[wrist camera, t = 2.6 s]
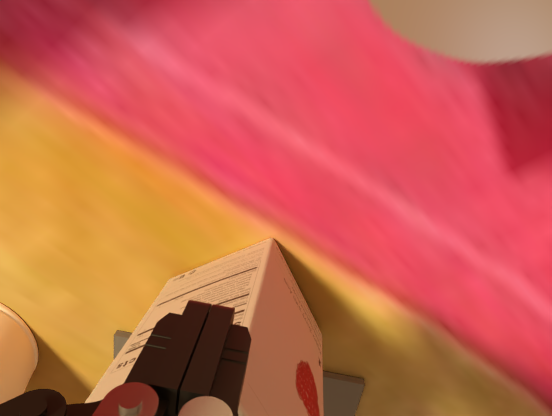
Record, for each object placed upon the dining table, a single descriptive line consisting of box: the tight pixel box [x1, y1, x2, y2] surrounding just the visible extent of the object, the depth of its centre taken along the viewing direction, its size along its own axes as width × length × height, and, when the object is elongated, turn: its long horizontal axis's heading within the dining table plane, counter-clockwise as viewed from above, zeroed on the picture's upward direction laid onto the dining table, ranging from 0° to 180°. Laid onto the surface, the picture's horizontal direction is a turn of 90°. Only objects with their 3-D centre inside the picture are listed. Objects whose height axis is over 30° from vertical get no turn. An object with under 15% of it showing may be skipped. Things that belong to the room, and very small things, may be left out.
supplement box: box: [85, 238, 324, 416], centre depth 24 cm, size 9×9×15 cm
